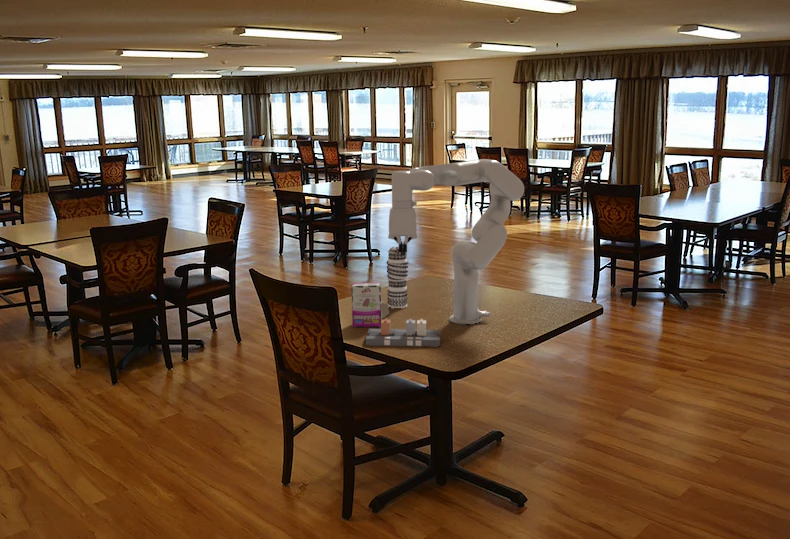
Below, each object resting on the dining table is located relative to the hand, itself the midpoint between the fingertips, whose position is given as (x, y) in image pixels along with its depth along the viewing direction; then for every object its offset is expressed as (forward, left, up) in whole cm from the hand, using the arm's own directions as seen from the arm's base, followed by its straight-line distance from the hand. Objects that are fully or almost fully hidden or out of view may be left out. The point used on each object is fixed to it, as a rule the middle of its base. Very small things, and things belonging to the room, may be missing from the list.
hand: (402, 254), depth 269 cm
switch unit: (-1, +15, -29) cm, 32 cm away
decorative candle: (+4, -32, -29) cm, 43 cm away
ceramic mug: (+11, -16, -29) cm, 35 cm away
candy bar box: (+14, -3, -29) cm, 32 cm away
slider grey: (-3, +15, -26) cm, 30 cm away
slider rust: (+5, +15, -26) cm, 30 cm away
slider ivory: (-7, +15, -26) cm, 31 cm away
